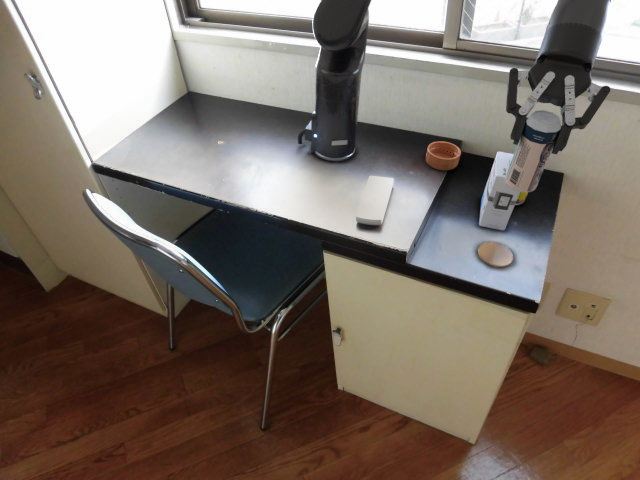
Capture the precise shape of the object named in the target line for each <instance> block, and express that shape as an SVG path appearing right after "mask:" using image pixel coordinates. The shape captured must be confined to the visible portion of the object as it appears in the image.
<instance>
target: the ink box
mask: <svg viewBox="0 0 640 480" xmlns="http://www.w3.org/2000/svg"><path fill="white" fill-rule="evenodd" d="M513 155H514V153H509V152H505V151H497V152H496V155H495V158H494V161H493V164H492V167H491V169H490V170H491V171H490V173H489V176H488V178H487V181H486V184H485V187H484V189H483V193H482V197H481V200H480V211H479V222H478V226H479V227H483V228H487V229H488V228H489V229H492V230H498V231H505V230H506V228H507V225H508V223H509V220H510V218H511V216H512V213H513V211H514V208H515V206H516V205H515V203H516V201H517V198H518V196H519V193H520V192H517V191H514V190H513V189H511V188H510V187H509V186H507V184H506V183H505V178H506V175H507V172H508V169H509V166H510V164H511V161H512V158H513Z"/></svg>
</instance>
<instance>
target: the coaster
mask: <svg viewBox="0 0 640 480" xmlns="http://www.w3.org/2000/svg"><path fill="white" fill-rule="evenodd" d="M477 255H478V257H479V259H480V260H481V261H482V262H483V263H485V264H486V265H489V266H491V267H493V268H494V267H495V268H506V267H508V266H510V265H511V264H512V262H513V261H514V255H513V252H512V251H511V250H510V249H509V247H507V246H506V245H504V244H502V243H499V242H495V241H487V242H483V243H482V244H480V246H479V247H478V249H477Z"/></svg>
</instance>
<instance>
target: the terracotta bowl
mask: <svg viewBox="0 0 640 480" xmlns="http://www.w3.org/2000/svg"><path fill="white" fill-rule="evenodd" d="M426 148H427V149H426V153H425V158H424V159H425V163H426V164H427V165H428V166H430V167H431V168H432V169H435V170H438V171H451V170H454V169H455V168H457V166H458V165H459V162H460V159H461V155H462V150H461V148H460V147H459V146H457V145H456V144H454V143H452V142H449V141H443V140H441V141H433V142H430V143H429V144H428V145H427V147H426ZM447 151H448V152H447ZM450 152H451V153H450ZM453 154H454V155H453Z"/></svg>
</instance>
